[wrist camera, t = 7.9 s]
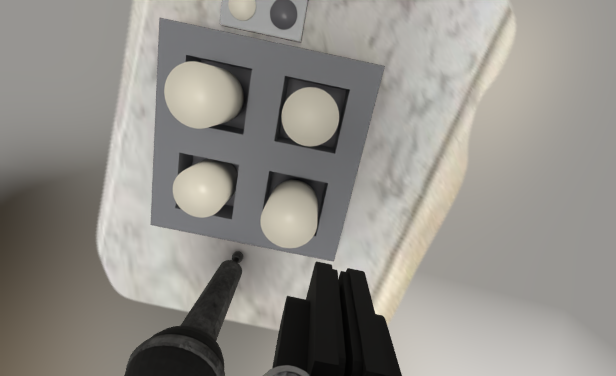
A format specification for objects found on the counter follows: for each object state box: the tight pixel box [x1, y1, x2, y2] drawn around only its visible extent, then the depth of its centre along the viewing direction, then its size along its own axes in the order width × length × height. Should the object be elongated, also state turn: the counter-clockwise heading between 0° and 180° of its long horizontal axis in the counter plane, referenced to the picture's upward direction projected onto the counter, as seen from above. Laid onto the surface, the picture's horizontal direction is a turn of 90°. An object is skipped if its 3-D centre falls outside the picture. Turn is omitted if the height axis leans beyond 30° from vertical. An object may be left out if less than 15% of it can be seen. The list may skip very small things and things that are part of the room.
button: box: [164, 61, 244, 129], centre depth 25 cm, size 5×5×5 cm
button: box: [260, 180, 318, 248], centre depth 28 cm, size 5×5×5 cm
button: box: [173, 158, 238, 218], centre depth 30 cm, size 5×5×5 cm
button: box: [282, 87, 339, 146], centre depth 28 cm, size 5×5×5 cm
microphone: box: [124, 252, 243, 376], centre depth 27 cm, size 7×7×20 cm
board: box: [151, 18, 385, 261], centre depth 31 cm, size 20×20×4 cm
